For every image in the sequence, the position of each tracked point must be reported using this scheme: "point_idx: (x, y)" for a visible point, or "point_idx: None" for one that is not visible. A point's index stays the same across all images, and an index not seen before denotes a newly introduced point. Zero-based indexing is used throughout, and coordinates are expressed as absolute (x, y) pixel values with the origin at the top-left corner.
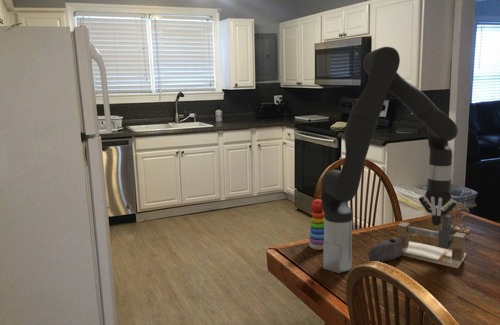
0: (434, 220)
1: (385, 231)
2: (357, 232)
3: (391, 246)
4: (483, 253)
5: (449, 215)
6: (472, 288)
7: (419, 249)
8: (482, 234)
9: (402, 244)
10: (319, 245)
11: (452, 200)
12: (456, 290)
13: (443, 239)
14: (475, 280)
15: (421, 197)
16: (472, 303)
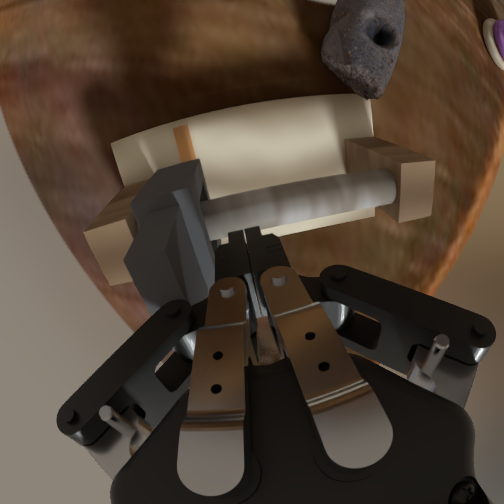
0: (257, 243)
1: (431, 254)
2: (479, 193)
3: (356, 1)
4: (143, 308)
5: None
6: (32, 59)
7: (296, 168)
8: None
9: (360, 140)
10: (493, 22)
11: (103, 463)
12: (57, 10)
13: (169, 177)
14: (44, 109)
15: (479, 359)
16: (17, 4)
